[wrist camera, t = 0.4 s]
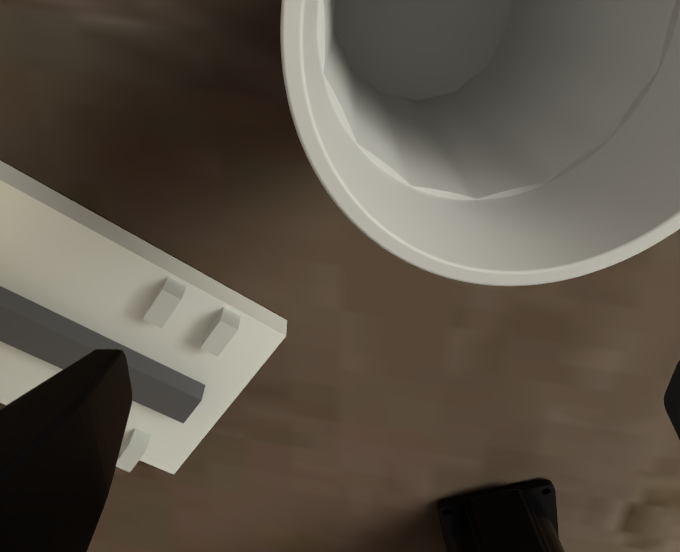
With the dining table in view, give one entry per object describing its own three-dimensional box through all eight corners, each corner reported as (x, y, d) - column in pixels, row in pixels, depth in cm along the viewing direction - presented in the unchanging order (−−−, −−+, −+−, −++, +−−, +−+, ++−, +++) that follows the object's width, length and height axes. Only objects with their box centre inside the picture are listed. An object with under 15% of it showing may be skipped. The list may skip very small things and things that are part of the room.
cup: (269, 85, 19) (225, 220, 9) (337, -190, 16) (400, -514, 5) (472, 150, 21) (640, 330, 10) (577, -87, 17) (994, -179, 7)
